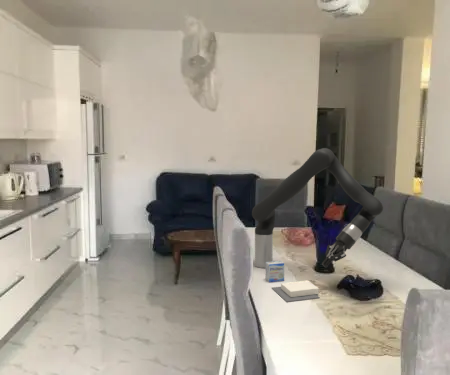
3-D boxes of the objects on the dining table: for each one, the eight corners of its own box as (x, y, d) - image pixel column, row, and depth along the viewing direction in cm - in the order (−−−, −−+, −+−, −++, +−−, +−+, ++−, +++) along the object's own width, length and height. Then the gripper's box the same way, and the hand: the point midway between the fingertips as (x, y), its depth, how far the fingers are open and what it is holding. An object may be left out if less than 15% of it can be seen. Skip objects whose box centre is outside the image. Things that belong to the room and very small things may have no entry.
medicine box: (268, 282, 191) (268, 264, 190) (265, 279, 195) (265, 261, 194) (284, 281, 193) (284, 263, 192) (280, 277, 197) (280, 260, 196)
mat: (271, 288, 184) (271, 287, 184) (302, 285, 188) (302, 284, 188) (286, 302, 168) (286, 301, 168) (319, 298, 172) (319, 297, 172)
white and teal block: (307, 286, 185) (281, 289, 182) (307, 280, 185) (281, 283, 181) (318, 294, 176) (290, 297, 172) (318, 288, 175) (290, 291, 172)
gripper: (336, 227, 187) (311, 256, 185) (352, 234, 174) (325, 264, 173) (346, 238, 189) (321, 266, 187) (363, 245, 176) (336, 275, 175)
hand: (323, 265), depth 180 cm, fingers closed
